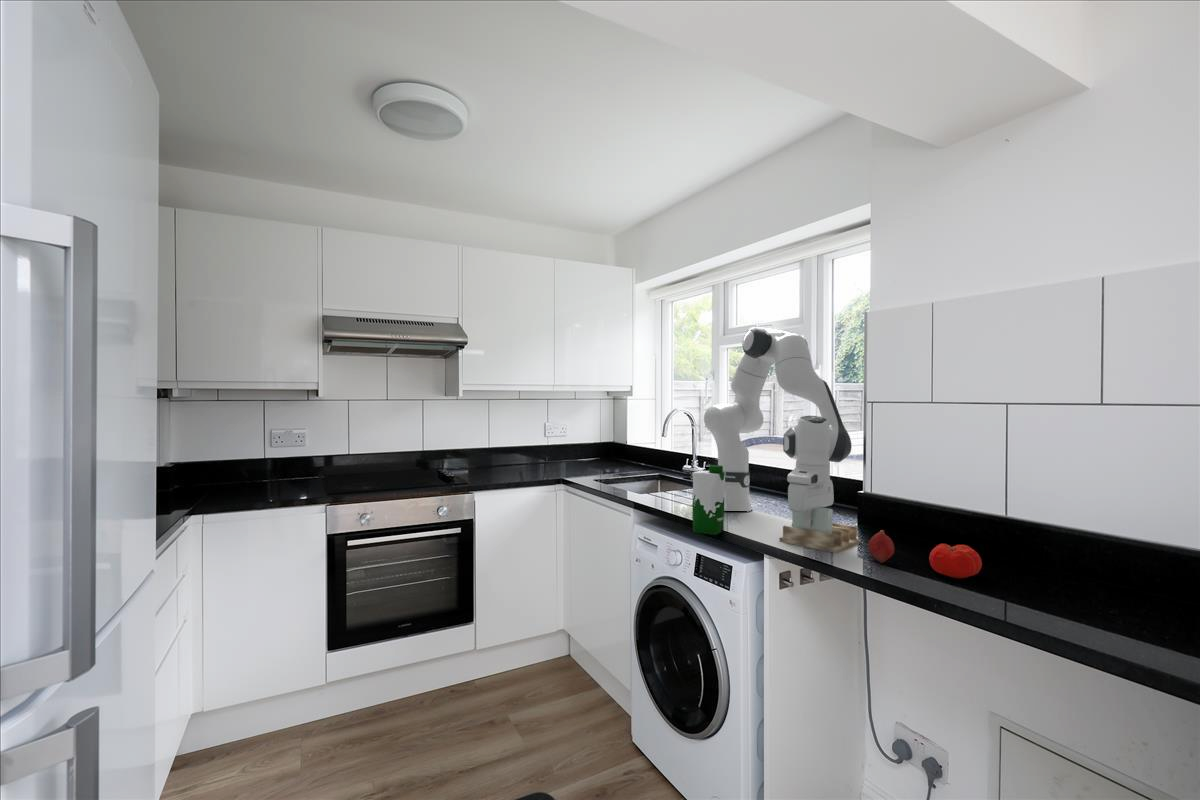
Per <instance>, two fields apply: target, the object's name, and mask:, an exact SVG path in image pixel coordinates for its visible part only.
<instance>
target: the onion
mask: <svg viewBox="0 0 1200 800" xmlns="http://www.w3.org/2000/svg"><path fill="white" fill-rule="evenodd" d="M867 549H868V551H869V554H870V555H871V556H872V557H873V558H874V559H875V560H877V561H878V562H879V563H880V564H881V563H882V564H883V563H884V562H886V561H888V560H889V559H890V558H891V557H893V555H894V554H895V545H894V542H893V540H892V538H890V537H889V536H888V535H886V534H885V530H883V529H882V530H881V529H880V530H879V532H877V533H875V534H874V535H873V536H871V538H870V539H869V540H868V543H867Z"/></svg>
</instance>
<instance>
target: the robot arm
mask: <svg viewBox="0 0 1200 800" xmlns="http://www.w3.org/2000/svg"><path fill="white" fill-rule="evenodd" d="M741 344H742V350H743V352H742V355H741V356H740V359H739V361H738V364H737V367H736V369H735V372H734V375H733V377H732V380H731V383H730V388H731V390H732V392H733V393H734V402H733V403H719V404H714V405H711V406H709V407H708V408H706V409H705V411H704V415H703V422H704V426H705V428H706V429H707V430H708V431H709V432H710V433H711V434H712V437H713V439H714V441H715V444H716V448H717V461H718V462H717V465H720V466H723V472H726V474H725V492H724V511H747V512H750V511H751V510H752V511H753V509H754V508H753V506H752V503H751V502H752V501H751V495H750V482H751V477H750V474H751V473H750V470H749V464H750V463H749V461H750V460H749V459H750V458H749V457H750V455H749V453H750V452H749V449H748V447H746V446H745V445H744V444H743V443H742V442H743V441H742V440H741V437H740V434H750V433H753V432H756V431H757V432H758V431H759V430H760V429H761V428H762V426H763V424H764V420H765V419H764V418H765V417H764V413H763V412H762V409H761V408H760V399H761V395H762V392H763V389H764V385H765V383H766V381H767V377H768V376H769V373H770V370H771V367H772V365H773V364H774V368H775V369H774V371H775V376H776V380H777V384H778V386H779V387H780V388H781V389H782V390H784V392H785V393H788V394H790V395H792V396H796V397H800V398H802V399H804V400H807V401H809V402H811V403H812V404H814V405H815V406H816V407H817V408H818V410H819V413H820V415H821V416H819V415H818V416H817V415H804V416H800V417H799V418H798V420H797V425H796V426H793V427H790V428H789V429H787V430H786V432H784V434H783V439H782V441H783V442H782V444H783V447H782V448H783V452H784V453H785V455H787V457H789V458H790V459H794V460H795V467H794V468H793V470H791V472H789V473H788V474H787V477H786V481H787V482H788V483H789V485H788V487H787V498H788V499H787V501H788V502H787V503H788V509H789V511H790V512H792V511H793V512H799V513H802V516H803V519H804V525H805V526H808V527H809V526H812V524H813V523H812V522H813V520H812V519H811V515H810V514H811V510H814V509H816V508H820V507H822V508H827V507H830V506H832V505H833V503H834V501H835V500H834V499H835V498H834V496H835V495H834V484H833V480H832V479H831V463H830V462H833V463H841V462H842V461H843V460H845V459H847V458H848V456H849V455H850V454H851V452H852V440H851V437H850V435H849V433H848V431H847V429H846V427H845V425H844V423H843V420H842V418H841V415H840V413H839V412H840V411H839V410H838V407H837V405H836V401H835V399H834V396H833V393H832V391H831V389H830V387H829V384H828V382H826V381H825V380H824V379H823V378H821V377H820V375H818V373H817V372H816V371H815V369H814V366H813V361H812V357H811V353H810V352H811V351H810V348H809V345H808V341H807V340H806V339H805V338H804V337H803V336H801V335H800V334H796V333H791V332H788V331H784V330H780V329H778V330H777V329H772V328H765V327H763V326H762V327H761V326H754V327H753V326H752V327H750V328H749V329H748V330H747V331H746V333H744V336H743V339H742V343H741ZM691 503H692V504H693V502H691ZM692 504H691V505H692Z"/></svg>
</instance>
